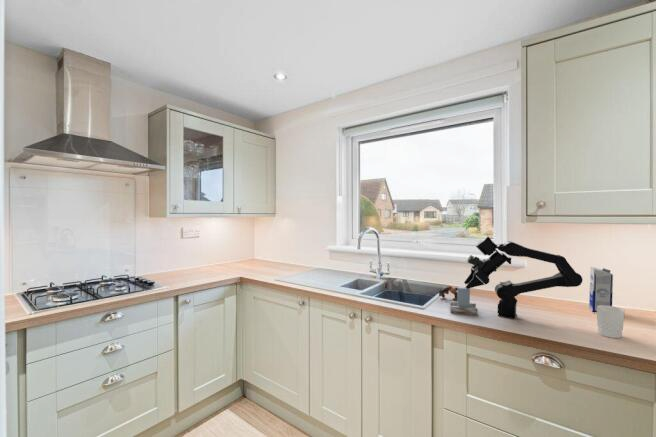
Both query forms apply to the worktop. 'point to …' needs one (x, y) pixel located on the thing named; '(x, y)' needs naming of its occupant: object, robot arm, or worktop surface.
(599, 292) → the milk carton
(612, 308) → the white cup
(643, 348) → the worktop surface
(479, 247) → the robot arm
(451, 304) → the bottom track
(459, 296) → the grey rectangular block
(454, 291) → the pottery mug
